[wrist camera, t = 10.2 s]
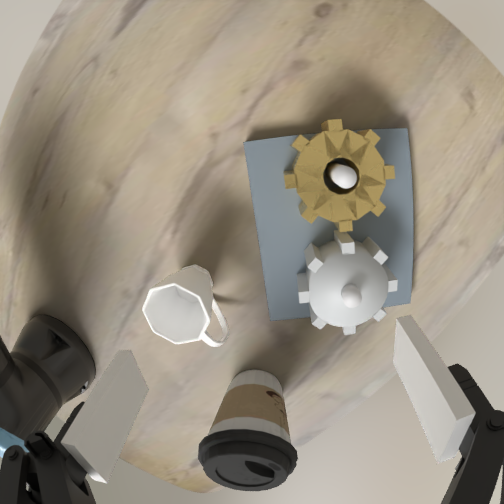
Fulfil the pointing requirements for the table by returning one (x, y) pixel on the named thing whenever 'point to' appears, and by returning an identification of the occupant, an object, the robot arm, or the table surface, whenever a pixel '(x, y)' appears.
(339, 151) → the brass gear
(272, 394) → the coffee cup
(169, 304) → the cup
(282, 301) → the gear board
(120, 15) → the table surface
